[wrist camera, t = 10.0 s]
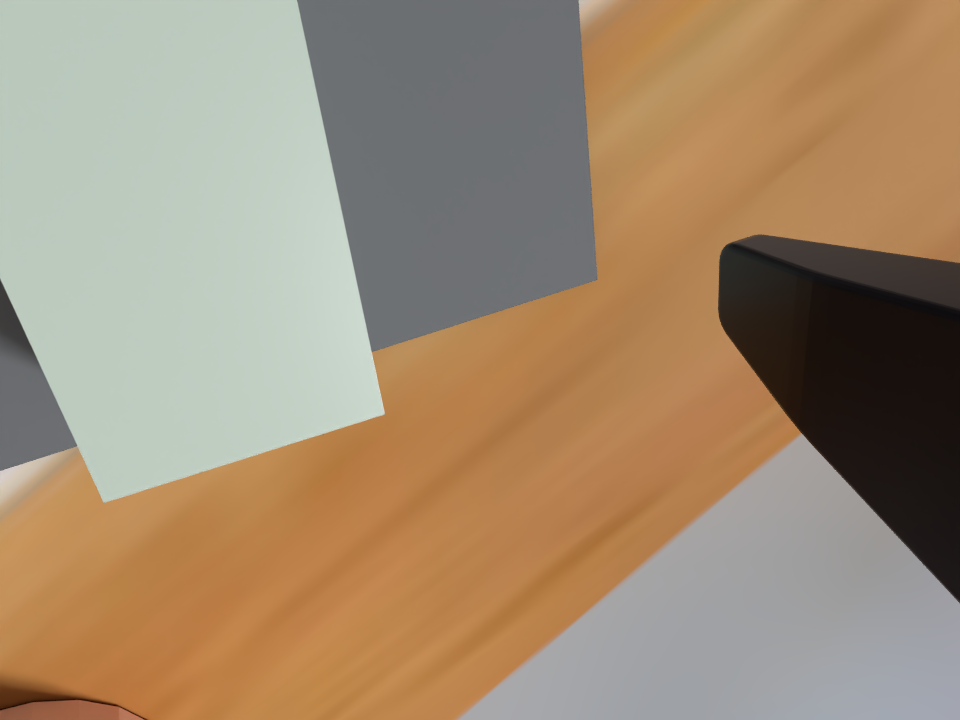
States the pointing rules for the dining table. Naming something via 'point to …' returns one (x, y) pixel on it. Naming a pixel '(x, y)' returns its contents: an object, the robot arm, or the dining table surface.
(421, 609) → the dining table surface
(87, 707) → the pepper shaker
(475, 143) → the rubber mat
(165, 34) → the card case
